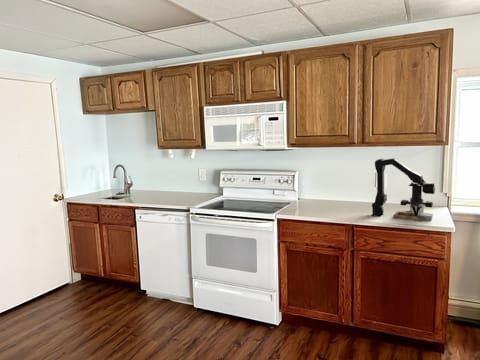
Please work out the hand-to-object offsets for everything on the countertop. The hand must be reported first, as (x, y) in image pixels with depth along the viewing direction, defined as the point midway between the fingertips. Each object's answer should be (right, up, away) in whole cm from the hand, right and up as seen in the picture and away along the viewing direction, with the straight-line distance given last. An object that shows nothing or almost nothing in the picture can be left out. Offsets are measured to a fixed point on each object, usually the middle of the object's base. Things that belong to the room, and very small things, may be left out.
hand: (416, 216), depth 239 cm
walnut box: (-3, -2, +3) cm, 4 cm away
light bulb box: (+9, 0, +17) cm, 19 cm away
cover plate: (+5, -1, -2) cm, 5 cm away
